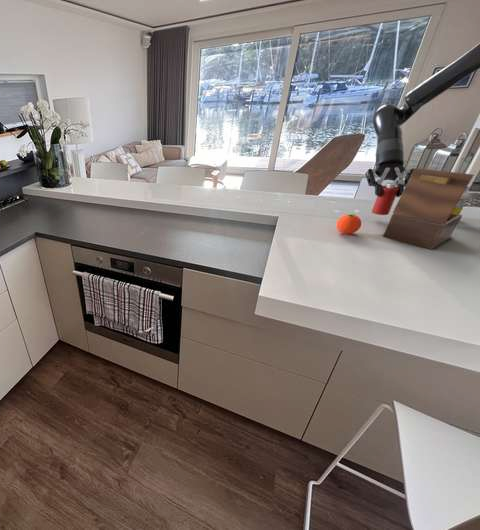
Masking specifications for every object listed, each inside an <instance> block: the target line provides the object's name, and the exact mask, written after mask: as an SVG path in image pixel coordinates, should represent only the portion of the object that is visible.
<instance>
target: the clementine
mask: <svg viewBox="0 0 480 530" xmlns="http://www.w3.org/2000/svg"><path fill="white" fill-rule="evenodd" d="M361 227H362V220H361V218H360V217H359V216H358V215H356V214H355V213H347V214H344V215H342V216H340V217H339V218H338V220H337V221H336V229H337V230H338V231H339V232H340V233H342V234H344V235H351V234H354V233H356V232H358V231H359V230H360V229H361Z"/></svg>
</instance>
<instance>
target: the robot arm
mask: <svg viewBox="0 0 480 530" xmlns="http://www.w3.org/2000/svg"><path fill="white" fill-rule="evenodd" d="M479 69H480V42H479V43H478V44H476V45H475V46H474V47H472V48H471V49H470V50H469V51H467V52H466V53H464V54H463V55H462V56H460V57H458V58H457V59H456V60H454V61H453V62H451V63H450V64H448V65H447V66H445V67H444V68H442V69H440V70H439V71H437V72H436V73H434V74H432V75H431V76H430V77H428V78H426V79H425V80H424V81H422V82H420V84H418V85H416V86H415V87H414V88H412V89H411V90H410V91H408V92H407V93H406V94H405V95H404V98H403V99H404V102H405V103H404V105H402V106H401V107H398V106H397V105H395V104H393V103H386V104H383V105H381V106H380V107H379V108H378V109H376V111H375V112H374V113H373V116H372V125H373V128H374V132H375V134H376V150H375V168H374V169H373V168H369V169H368V170H367V171H366V172H365V173H364V174H365V178H366V182H367V184H368V186H369V187H374V195H375V196H376V197H377V196H378V197H380V196H381V195H382V186H383V182H384V181H392V183H395V184H396V186H395V187H398V188H399V190H398V192H397V195H396V197H395V198H400V197H401V195H402V193H403V191H404V189H405V187H406V185H407V183H408V181H409V179H410V177H411V175H412V173H413V171H414V169H415V168H410V169H407V168H405V166H404V158H405V157H404V143H403V142H404V141H403V129H402V128H401V126H403V125H404V124H405V123H406V122H407V121H409V119H410V118H412V116H413V115H415V114H417V112H418V111H419V110H420V109H422V107H424V106H425V105H427V104H428V103H430V102H431V101H433V100H434V99H437V98H438V97H439V96H441V95H443V94H444V93H445V92H446V91H448V90H450V89H451V88H452V87H454V86H455V85H457V84H459V83H460V82H461V81H462V80H464V79H465V78H467V77H469V76H470V75H472V74H474V73H475V72H476V71H478V70H479ZM403 174H404V176H403ZM375 175H376V176H377V180H376V177H375Z"/></svg>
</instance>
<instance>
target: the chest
mask: <svg viewBox="0 0 480 530" xmlns="http://www.w3.org/2000/svg"><path fill="white" fill-rule="evenodd" d="M462 217H463V215H462V214H459V215H458V214H453V213H451V215H450V217H449V218H448V220H447V222H446V223H445V225H443V224H438V223H434V222H429V221H425V220H420V219H416V218H411V217H406V216H402V215H397V214H393V213H392V214H391V216H390V219H389V221H388V224H387V226H386V229H385V231H384V233H383V237H386V238H390V239H392V240H397V241H400V242H405V243H407V244H411V245H415V246H418V247H422V248H426V249H430V250H432V249H434V248H435V247H437V246H439V245H441V244H442V243H444V242H446V241H447V240H449V239H451V237H452V235H453V233H454V231H455V230H456V228H457V226H458V225H459V223H460V221H461V219H462Z"/></svg>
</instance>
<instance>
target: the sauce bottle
mask: <svg viewBox="0 0 480 530" xmlns="http://www.w3.org/2000/svg"><path fill="white" fill-rule="evenodd" d="M398 190H399V188H398V187H397V186H396V184H395V183H393V182H386V184H385V185H382V195H381V196H380V197H378V196H377V195H376V198H375V201H374V204H373V207H372V210H371V213H372V214H374V215H379V216H387V215H389V214H390V212H391V209H392V207H393V204H394V203H395V199H396V198H397V197H396V195H397V192H398Z"/></svg>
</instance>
